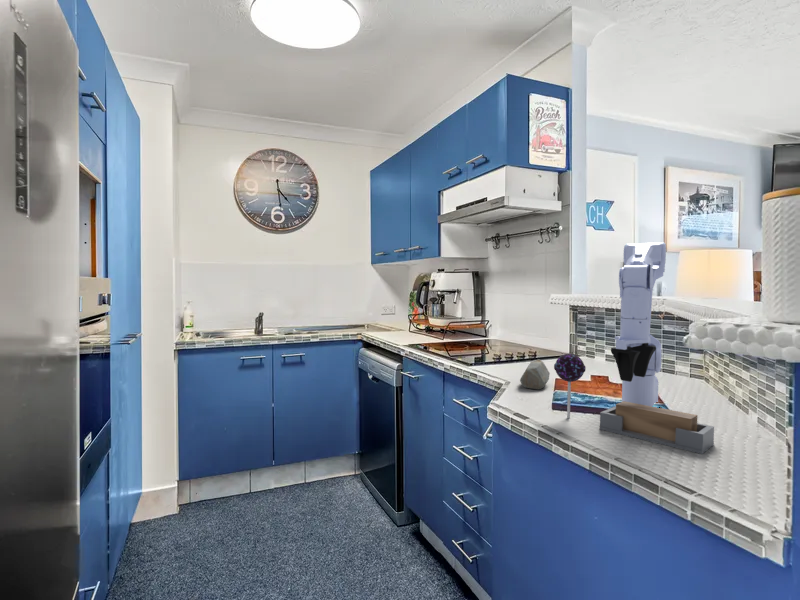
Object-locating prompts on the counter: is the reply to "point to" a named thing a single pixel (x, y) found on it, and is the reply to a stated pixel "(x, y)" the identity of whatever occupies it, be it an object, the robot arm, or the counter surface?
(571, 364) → the lollipop
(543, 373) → the stone
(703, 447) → the cradle
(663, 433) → the slat
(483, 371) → the counter surface
